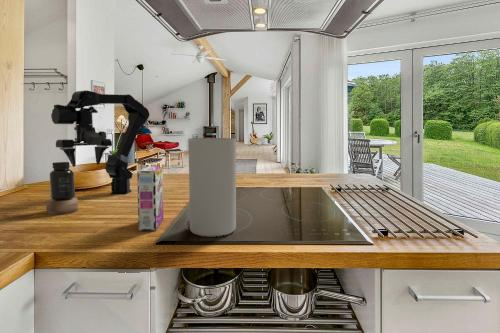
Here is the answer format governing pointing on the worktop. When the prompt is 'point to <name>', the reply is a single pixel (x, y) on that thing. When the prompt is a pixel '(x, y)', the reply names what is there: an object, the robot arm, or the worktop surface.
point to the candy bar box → (150, 198)
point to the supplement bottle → (62, 181)
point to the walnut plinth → (62, 206)
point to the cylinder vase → (212, 186)
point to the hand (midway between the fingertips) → (86, 165)
